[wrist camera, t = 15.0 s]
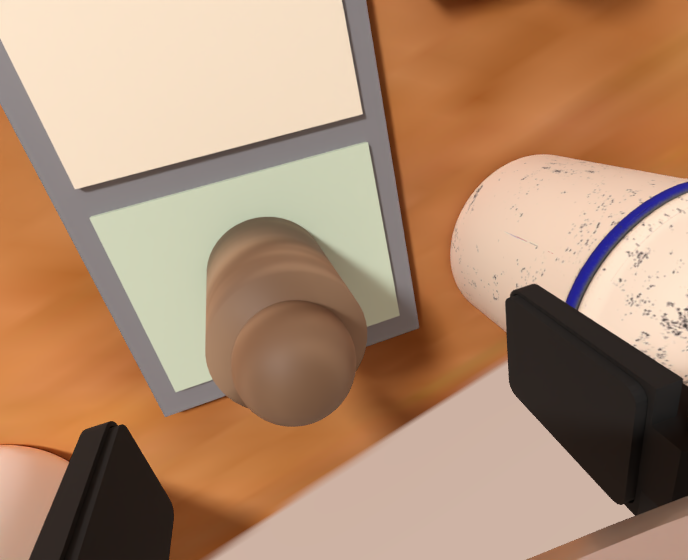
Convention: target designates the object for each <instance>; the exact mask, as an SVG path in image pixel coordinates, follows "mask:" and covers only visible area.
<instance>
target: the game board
mask: <svg viewBox="0 0 688 560" xmlns="http://www.w3.org/2000/svg"><path fill="white" fill-rule="evenodd" d="M0 104H1V106H2V108H3V110H4V112H5V114H6V116H7V117H8V119H9V121H10V123H11V125H12V127H13V129H14V131H15V133H16V135H17V136H18V138H19V140H20V142H21V144H22V146H23V148H24V150H25V152H26V154H27V155H28V157H29V159H30V161H31V163H32V165H33V167H34V169H35V171H36V173H37V174H38V176H39V178H40V180H41V182H42V184H43V186H44V188H45V190H46V192H47V193H48V195H49V197H50V199H51V201H52V203H53V205H54V207H55V209H56V211H57V212H58V214H59V216H60V218H61V220H62V222H63V224H64V226H65V228H66V230H67V231H68V233H69V235H70V237H71V239H72V241H73V243H74V245H75V247H76V248H77V250H78V252H79V254H80V256H81V258H82V260H83V262H84V264H85V266H86V267H87V269H88V271H89V273H90V275H91V277H92V279H93V281H94V283H95V285H96V286H97V288H98V290H99V292H100V294H101V296H102V298H103V300H104V302H105V304H106V305H107V307H108V309H109V311H110V313H111V315H112V317H113V319H114V321H115V323H116V324H117V326H118V328H119V330H120V332H121V334H122V336H123V338H124V340H125V342H126V343H127V345H128V347H129V349H130V351H131V353H132V355H133V357H134V359H135V361H136V362H137V364H138V366H139V368H140V370H141V372H142V374H143V376H144V378H145V380H146V381H147V383H148V385H149V387H150V389H151V391H152V393H153V395H154V397H155V398H156V400H157V402H158V404H159V406H160V408H161V410H162V412H163V414H164V416H165V417H167V416H169V415H172V414H175V413H178V412H181V411H184V410H187V409H189V408H192V407H195V406H198V405H201V404H204V403H207V402H209V401H212V400H215V399H218V398H221V397H224V396H226V395H225V394H224V393H223V392H222V391H221V390H220V389H219V388H218V386H217V385H216V384H215V382H214V381H213V379H212V377H211V375H210V373H209V370H208V367H207V363H206V357H205V334H206V279H207V264H208V260H209V256H210V254H211V252H212V249H213V247H214V246H215V244H216V243H217V241H218V240H219V239H220V238H221V237H222V235H224V234H225V233H226V232H227V231H228V230H229V229H231V228H232V227H234V226H235V225H237V224H239V223H241V222H244V221H246V220H249V219H253V218H258V217H278V218H283V219H286V220H290V221H292V222H294V223H296V224H298V225H300V226H301V227H303V228H304V229H305V230H307V231H308V232H309V233H310V234H311V235H312V236H313V238H314V239H315V240H316V242H317V243H318V245H319V246H320V248H321V249H322V251H323V252H324V254H325V255H326V256H327V258H328V259H329V261H330V262H331V264H332V265H333V267H334V268H335V270H336V271H337V273H338V274H339V276H340V277H341V279H342V280H343V281H344V283H345V284H346V286H347V287H348V289H349V290H350V292H351V293H352V295H353V296H354V298H355V299H356V301H357V302H358V304H359V305H360V307H361V309H362V311H363V313H364V317H365V320H366V325H367V344H366V347H367V346H370V345H372V344H375V343H378V342H381V341H384V340H387V339H390V338H392V337H395V336H398V335H401V334H404V333H407V332H410V331H412V330H415V329H418V328H419V323H418V316H417V310H416V304H415V298H414V292H413V286H412V280H411V273H410V267H409V261H408V255H407V249H406V243H405V237H404V230H403V224H402V218H401V212H400V206H399V200H398V194H397V187H396V181H395V175H394V169H393V163H392V157H391V151H390V144H389V138H388V132H387V126H386V120H385V114H384V108H383V101H382V95H381V89H380V83H379V77H378V71H377V65H376V58H375V52H374V46H373V40H372V34H371V28H370V22H369V15H368V9H367V3H366V0H0Z"/></svg>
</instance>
